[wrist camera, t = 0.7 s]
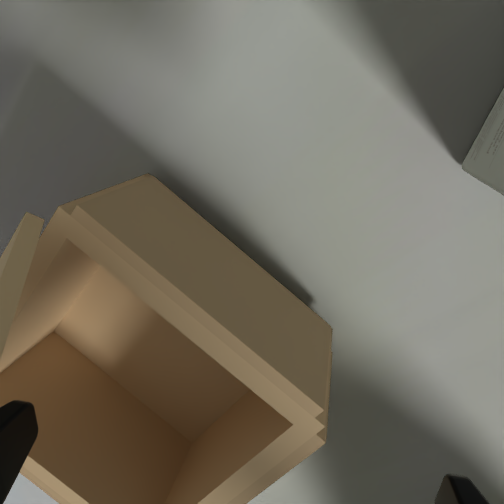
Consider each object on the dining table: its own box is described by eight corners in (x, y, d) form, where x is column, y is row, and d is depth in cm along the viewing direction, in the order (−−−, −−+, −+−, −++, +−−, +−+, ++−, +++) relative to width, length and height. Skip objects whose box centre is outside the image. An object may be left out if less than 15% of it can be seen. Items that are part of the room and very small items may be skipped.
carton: (346, 329, 21) (345, 428, 15) (200, 459, 26) (151, 575, 20) (153, 165, 21) (65, 195, 14) (40, 331, 26) (-63, 408, 19)
